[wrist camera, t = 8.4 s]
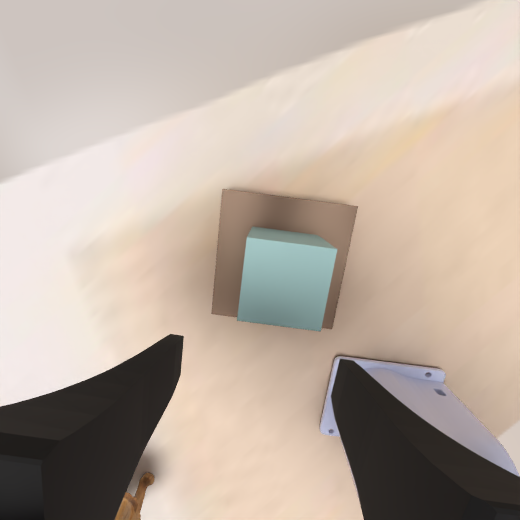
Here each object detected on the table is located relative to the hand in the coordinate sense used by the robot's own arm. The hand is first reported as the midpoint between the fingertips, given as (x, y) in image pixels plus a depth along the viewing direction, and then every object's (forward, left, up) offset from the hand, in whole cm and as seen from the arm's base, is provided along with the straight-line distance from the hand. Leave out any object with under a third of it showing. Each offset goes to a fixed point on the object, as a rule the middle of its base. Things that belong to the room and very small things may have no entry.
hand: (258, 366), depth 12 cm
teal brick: (-1, -3, -7) cm, 8 cm away
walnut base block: (-1, -3, -10) cm, 10 cm away
